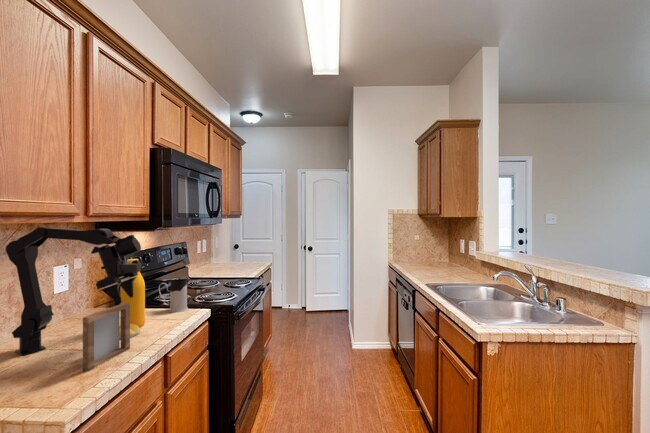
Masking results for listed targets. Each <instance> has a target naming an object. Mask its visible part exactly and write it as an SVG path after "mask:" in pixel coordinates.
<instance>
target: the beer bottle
mask: <svg viewBox="0 0 650 433" xmlns="http://www.w3.org/2000/svg"><path fill="white" fill-rule="evenodd" d="M134 260H139V258H130V259H127V261H126V263H132V262H133V261H134ZM137 274H138V275H137V276H134V277H137V278H136V279H135V280H134V282H133V297H132V298H130V297H129V296H128V295H127V293H126V292H125V291H124V290H123V288H122V287H121V286H119V291H120V295H121V300H122V303H119V305H120V304H123V303H130V324H135V325H137V326H138V327H139V328H141V327H144V326H145V323H146V285H145V280H144V277H143V275H142V274H141V271H140V272H138V273H137ZM134 277H133V278H134ZM119 328H121V311H119Z"/></svg>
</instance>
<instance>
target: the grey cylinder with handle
mask: <svg viewBox="0 0 650 433" xmlns="http://www.w3.org/2000/svg"><path fill="white" fill-rule="evenodd" d="M161 285H165V286H166V291H167V292H169V301H168V300H167V299H165V298H164V297H163V295H162V293H161V289H160V287H161ZM158 292H159V296H160V297H161V298H162V300H163V301H165V302H167V304H168V305H169V310H168V311H169V312H170V313H180V312H181V313H182V312H185V311H187V310H189V307H188V282H187V279H186V278H179V279H178V278H176V279H171V280H170V290H169V286H168V284H167V283H166V282H162V283H160V284H159V286H158Z"/></svg>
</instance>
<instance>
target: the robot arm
mask: <svg viewBox="0 0 650 433" xmlns="http://www.w3.org/2000/svg"><path fill="white" fill-rule="evenodd" d="M48 239H51V240H52V239H53V240H54V239H55V240H67V241H68V240H69V241H70V240H71V241H80V242H84V243H86V244H92V245H95V246H94V247H93V249H92V250H91V252H90V253H91V254H92V255H93V254H98V255H99V258H100V261H101V263H102V266H101V267H100V268H101V270H104V271H105V275H106V277H105V278H103V279H99V280H97V281H96V283H95V286H96V287H95V288H96V289H97V290H99V289H100V291H101V292H103V293H104V294H106V295H107V296H109V298H111V299H112V300H113V301H115V302H116V303H117V305H120V303H122V300H121V295H120V287H122V288H123V290H124V291H125V292H126V293H127V295H128V296H129V297H130V298H132V297H133V282H134V280H135V279H136V278H137V277H134V276H137V275H138V274H137V273H138V272H140V273H141V271H142V269H141V268H142V267H143V265H142V263H141V262H140V260H139V259H138V260H134V261H133V262H132V263H127V262H126V261H125V260H124V259H121V257H120V256H123V257H126V256H129V255H133V254H135V253H138V252H140V251H142V246H141V243H140V241H139V240H138V239H137V238H136V237H135V235H134V234H130V235H127V236H126V237H123V238H120V237H118V236H117V235H116V234H114V233H113V231H111V229H109V228H96V229H95V228H94V229H74V228H61V227H50V226H38V227H36V228H34V229H33V230H32V231H31V232H28V233H27V234H24V235H23V236H21V237H19V238H18V239H17V240H12V241H10V242H9V243H8V244H7V245H6V246H5V251H6V252H5V253H6V255H7V257H8V259H9V261H10V262H11V263H12V264H13V265H14V266H15V267H16V271H17V276H18V282H19V286H20V287H19V288H20V290H21V295H22V301H23V310H22V312H21V315H20V324H19V326H17V327H16V328H15V329H14V330H13V331H12V332H11V334H12V336H13V338H14V339H19V341H18V342H19V343H18V349H15V350H14V352H15V353H16V354H19V355H21V356H26V355H29V354H33V353H35V352H39V351H43V350H46V349H47V348H46V346H44V345H42V331H43V330H45V329H46V328H47V326H48V325H49V324H50V323H51V321H52V319H53V316H54V315H55V314H54V313H53V310H52V308H53V307H52V304H48V305H46V303H45V302H44V301H43V298H42V297H43V296H42V292H41V287H40V283H39V276H38V273H37V267H36V261H37V259H38V255H39V248H40V247H41V246H42V245H44V244H45V242H46V241H47V240H48ZM100 245H102V246H100ZM133 277H134V278H133Z"/></svg>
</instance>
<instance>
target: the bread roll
mask: <svg viewBox="0 0 650 433" xmlns="http://www.w3.org/2000/svg"><path fill="white" fill-rule="evenodd" d="M140 328H141V327H140ZM140 328H139V327H138V326H137V325H135V324H130V338H132V337H135V336H137V335H139V334H140V333H141V329H140ZM119 340H121V327H119Z"/></svg>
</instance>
